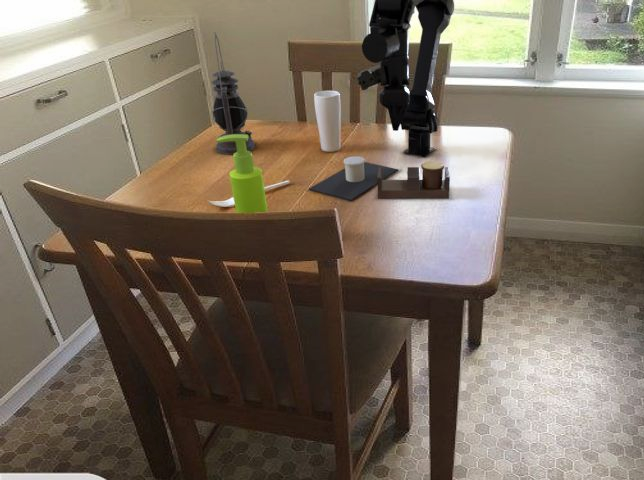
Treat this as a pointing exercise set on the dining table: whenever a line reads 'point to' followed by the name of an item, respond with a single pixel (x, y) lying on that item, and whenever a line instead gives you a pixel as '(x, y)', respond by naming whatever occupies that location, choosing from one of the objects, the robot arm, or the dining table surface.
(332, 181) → the mat
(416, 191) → the pod rack
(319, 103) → the drinking glass
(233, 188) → the soap dispenser
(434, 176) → the cylinder
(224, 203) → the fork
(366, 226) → the dining table surface
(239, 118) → the lantern
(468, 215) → the dining table surface
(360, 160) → the coffee pod
